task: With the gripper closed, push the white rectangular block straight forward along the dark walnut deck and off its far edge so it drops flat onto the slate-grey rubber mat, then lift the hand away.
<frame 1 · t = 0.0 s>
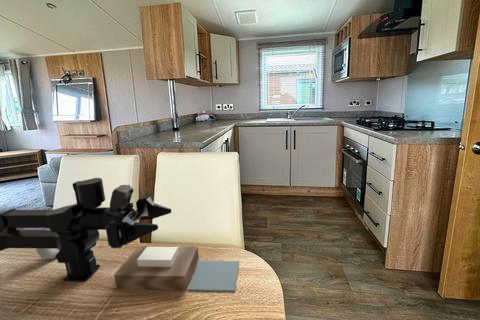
hand: (164, 218, 65), 17 cm above the table, tool horizontal, fingers open, 9 cm apart
mat: (215, 275, 68), on the table
deck: (160, 272, 70), on the table
donut: (57, 256, 80), on the table
white rectangular block: (159, 259, 69), point 4 cm above the table, touching deck
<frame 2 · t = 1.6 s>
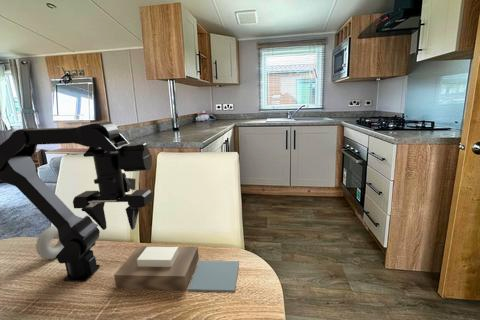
hand: (118, 229, 68), 13 cm above the table, tool pointing down, fingers open, 8 cm apart
nothing on the table moved.
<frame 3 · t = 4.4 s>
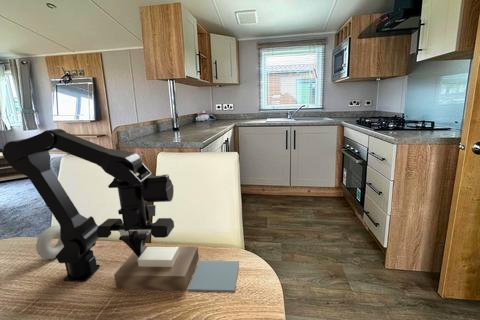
hand: (140, 256, 70), 5 cm above the table, tool pointing down, fingers closed
white rectangular block: (159, 259, 69), point 4 cm above the table, touching deck, gripper
everything else where it was.
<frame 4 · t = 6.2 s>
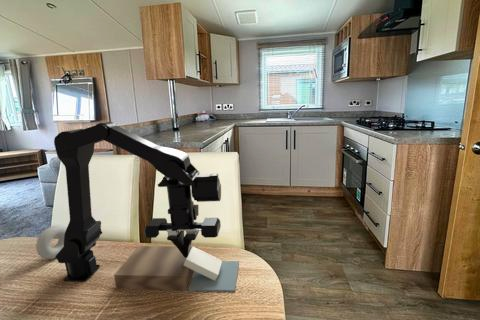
hand: (186, 256, 68), 5 cm above the table, tool pointing down, fingers closed
white rectangular block: (201, 265, 68), point 3 cm above the table, tilted 28°, touching gripper, mat
everything else where it was.
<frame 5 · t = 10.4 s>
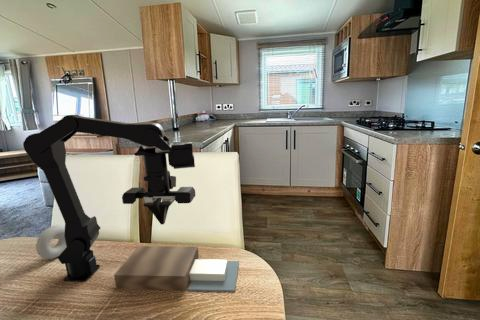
hand: (162, 223, 72), 12 cm above the table, tool pointing down, fingers closed
white rectangular block: (209, 272, 69), resting on mat
everything else where it was.
at the end: white rectangular block inside the target area (2.0 cm from its centre), resting on mat; white rectangular block tilted 0° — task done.
